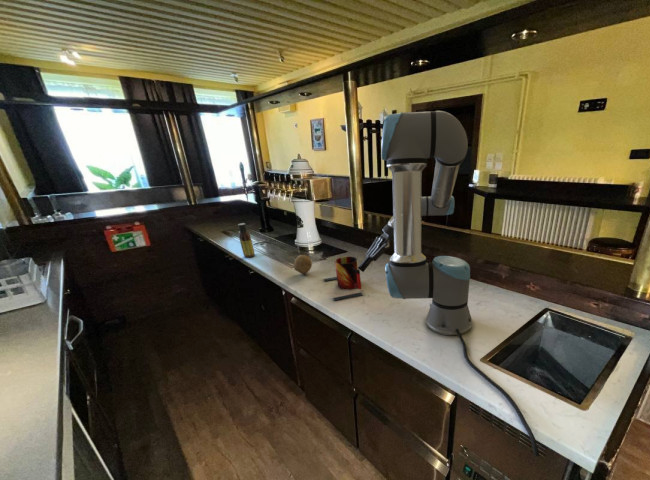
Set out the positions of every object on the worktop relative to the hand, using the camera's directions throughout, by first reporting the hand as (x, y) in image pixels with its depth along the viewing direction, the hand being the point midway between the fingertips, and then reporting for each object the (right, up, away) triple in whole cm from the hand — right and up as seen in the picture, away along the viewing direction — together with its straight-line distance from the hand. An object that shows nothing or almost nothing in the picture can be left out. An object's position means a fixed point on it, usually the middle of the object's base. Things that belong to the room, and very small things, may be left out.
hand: (360, 269), depth 136 cm
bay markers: (-8, -8, 0) cm, 11 cm away
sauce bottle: (-71, +11, +47) cm, 86 cm away
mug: (-4, -7, +1) cm, 8 cm away
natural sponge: (-30, -1, +16) cm, 34 cm away
